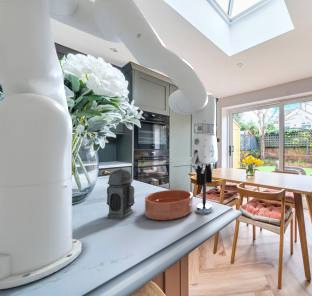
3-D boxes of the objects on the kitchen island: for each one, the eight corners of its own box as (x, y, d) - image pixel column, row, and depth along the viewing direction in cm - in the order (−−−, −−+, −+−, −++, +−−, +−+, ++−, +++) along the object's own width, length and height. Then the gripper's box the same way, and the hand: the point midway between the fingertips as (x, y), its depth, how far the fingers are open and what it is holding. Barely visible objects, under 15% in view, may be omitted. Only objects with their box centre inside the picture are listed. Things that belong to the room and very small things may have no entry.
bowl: (170, 226, 47) (170, 206, 47) (134, 215, 54) (134, 198, 54) (200, 208, 61) (201, 193, 61) (169, 201, 67) (169, 188, 67)
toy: (139, 211, 57) (139, 167, 57) (127, 219, 51) (127, 170, 51) (115, 210, 58) (115, 167, 57) (101, 217, 52) (101, 169, 52)
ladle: (206, 215, 55) (206, 169, 55) (193, 212, 57) (193, 168, 57) (214, 209, 60) (214, 167, 59) (202, 207, 62) (202, 166, 62)
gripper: (200, 127, 49) (199, 190, 49) (225, 132, 64) (224, 180, 64) (180, 128, 52) (179, 187, 52) (208, 132, 67) (207, 178, 67)
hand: (204, 183), depth 58 cm, fingers open, 3 cm apart
